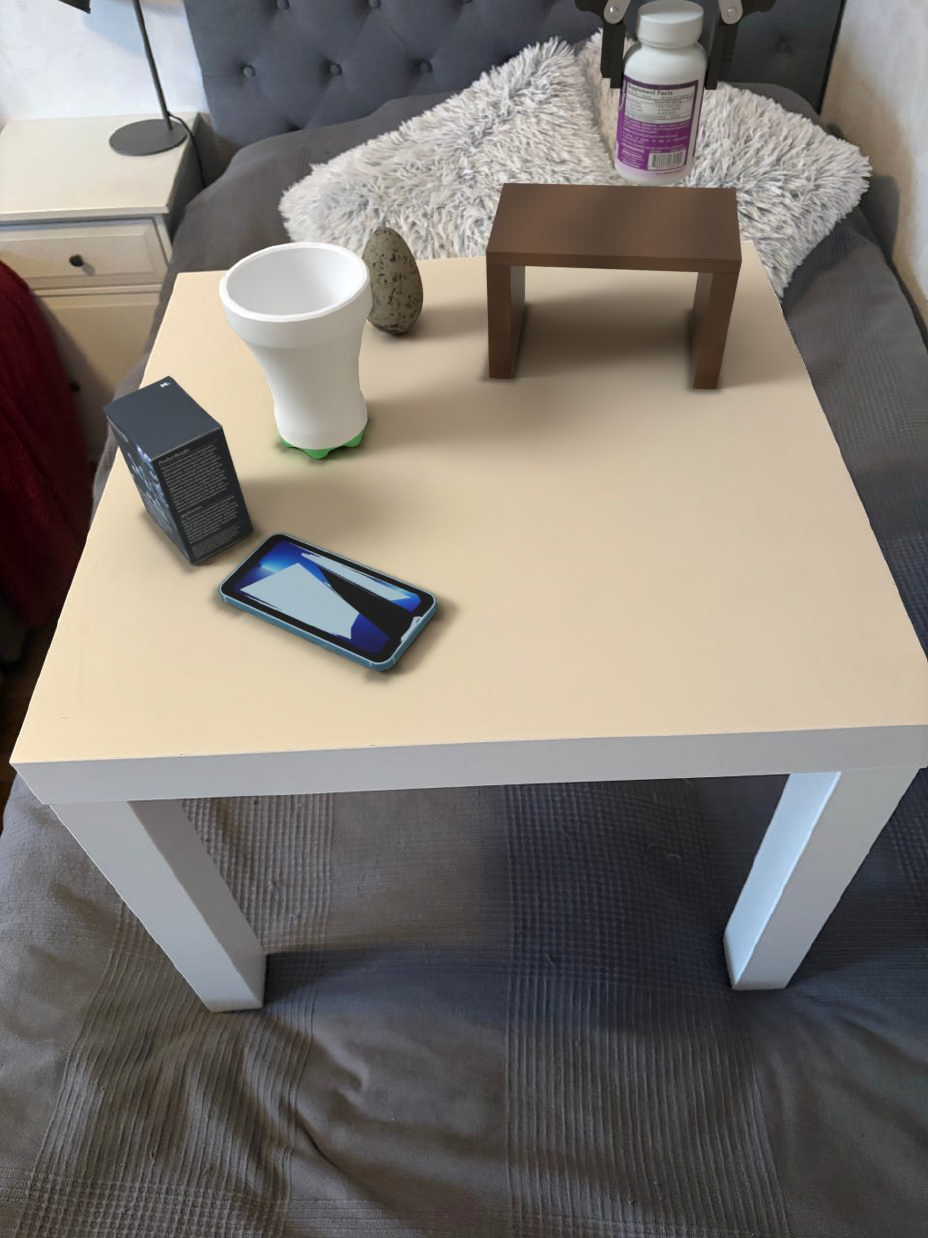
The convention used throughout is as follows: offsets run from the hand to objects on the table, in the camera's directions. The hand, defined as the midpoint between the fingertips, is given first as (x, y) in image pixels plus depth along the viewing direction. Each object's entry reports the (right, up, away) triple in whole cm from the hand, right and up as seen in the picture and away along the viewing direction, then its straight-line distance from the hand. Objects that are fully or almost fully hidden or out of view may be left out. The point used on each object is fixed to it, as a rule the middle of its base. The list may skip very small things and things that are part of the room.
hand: (663, 83), depth 59 cm
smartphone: (-22, -33, +7) cm, 41 cm away
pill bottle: (0, -4, +4) cm, 6 cm away
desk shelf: (0, -9, +26) cm, 28 cm away
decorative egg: (-19, -7, +30) cm, 36 cm away
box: (-33, -27, +13) cm, 45 cm away
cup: (-25, -18, +20) cm, 37 cm away
